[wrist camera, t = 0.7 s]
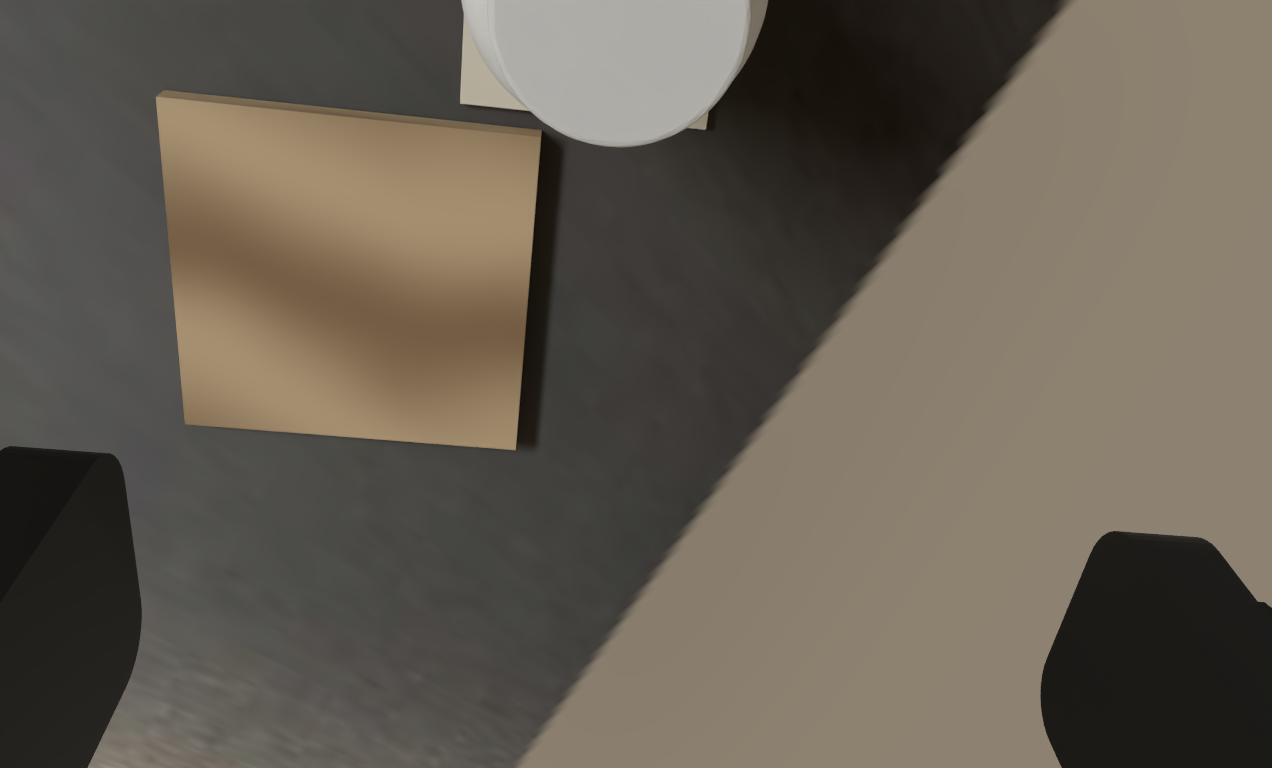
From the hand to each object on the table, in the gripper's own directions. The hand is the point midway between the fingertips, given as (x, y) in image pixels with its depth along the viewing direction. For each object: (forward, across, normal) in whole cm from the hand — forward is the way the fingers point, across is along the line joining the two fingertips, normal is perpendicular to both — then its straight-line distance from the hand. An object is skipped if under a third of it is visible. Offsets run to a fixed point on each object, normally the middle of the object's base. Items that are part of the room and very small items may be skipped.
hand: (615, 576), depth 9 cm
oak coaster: (+20, +6, +7) cm, 21 cm away
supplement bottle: (+20, 0, -2) cm, 20 cm away
